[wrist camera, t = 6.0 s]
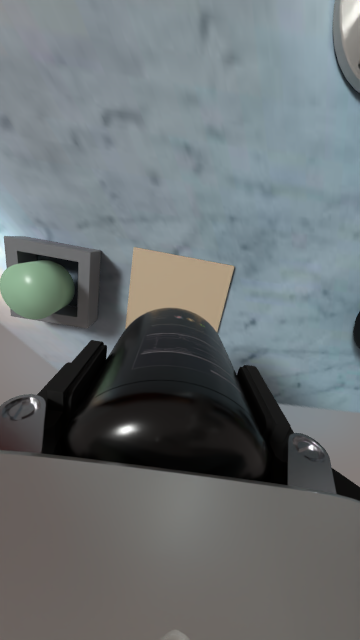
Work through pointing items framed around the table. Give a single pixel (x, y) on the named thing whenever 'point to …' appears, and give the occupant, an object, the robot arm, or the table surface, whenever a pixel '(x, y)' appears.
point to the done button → (37, 288)
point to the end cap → (357, 330)
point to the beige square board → (177, 285)
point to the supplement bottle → (169, 404)
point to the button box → (88, 276)
